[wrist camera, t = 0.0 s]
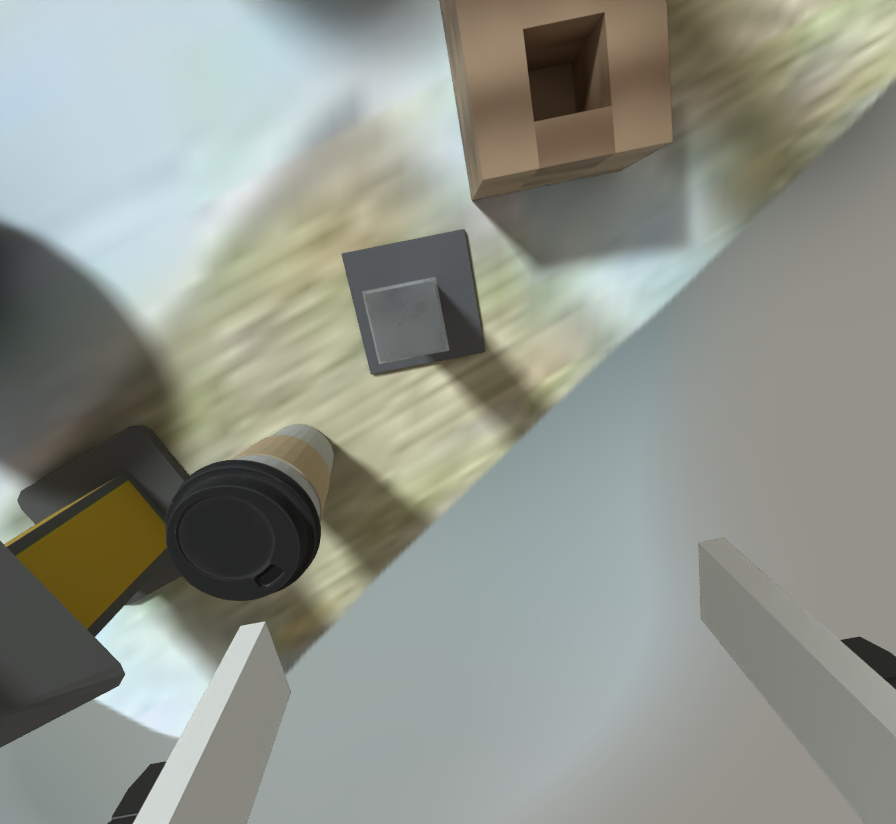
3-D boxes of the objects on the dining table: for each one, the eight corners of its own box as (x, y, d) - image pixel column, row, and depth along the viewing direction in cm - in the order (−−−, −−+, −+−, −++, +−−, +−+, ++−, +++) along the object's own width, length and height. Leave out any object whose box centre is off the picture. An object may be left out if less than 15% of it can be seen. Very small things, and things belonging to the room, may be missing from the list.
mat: (342, 253, 37) (341, 253, 37) (463, 229, 37) (464, 228, 37) (371, 373, 40) (370, 374, 40) (484, 351, 40) (484, 351, 39)
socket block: (420, -119, 31) (416, -251, 23) (602, -159, 31) (660, -304, 23) (471, 200, 36) (483, 179, 29) (626, 169, 36) (679, 140, 29)
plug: (388, 286, 38) (360, 291, 22) (433, 277, 38) (435, 276, 22) (398, 330, 39) (378, 365, 23) (441, 322, 39) (449, 351, 23)
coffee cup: (334, 513, 44) (287, 629, 29) (235, 480, 42) (135, 585, 28) (367, 425, 41) (334, 504, 27) (264, 388, 40) (171, 449, 26)
